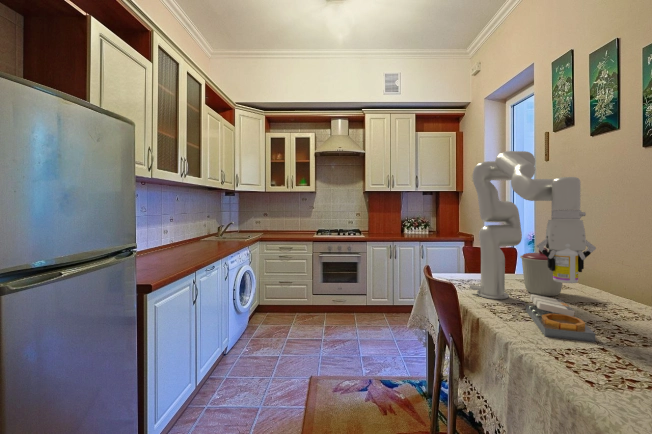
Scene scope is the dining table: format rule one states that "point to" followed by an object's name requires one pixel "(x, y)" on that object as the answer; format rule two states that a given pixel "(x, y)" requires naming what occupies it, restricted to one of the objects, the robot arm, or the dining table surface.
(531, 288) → the canister
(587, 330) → the panel
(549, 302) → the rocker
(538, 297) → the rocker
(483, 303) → the dining table surface
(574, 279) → the supplement bottle
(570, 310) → the bar
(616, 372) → the dining table surface
